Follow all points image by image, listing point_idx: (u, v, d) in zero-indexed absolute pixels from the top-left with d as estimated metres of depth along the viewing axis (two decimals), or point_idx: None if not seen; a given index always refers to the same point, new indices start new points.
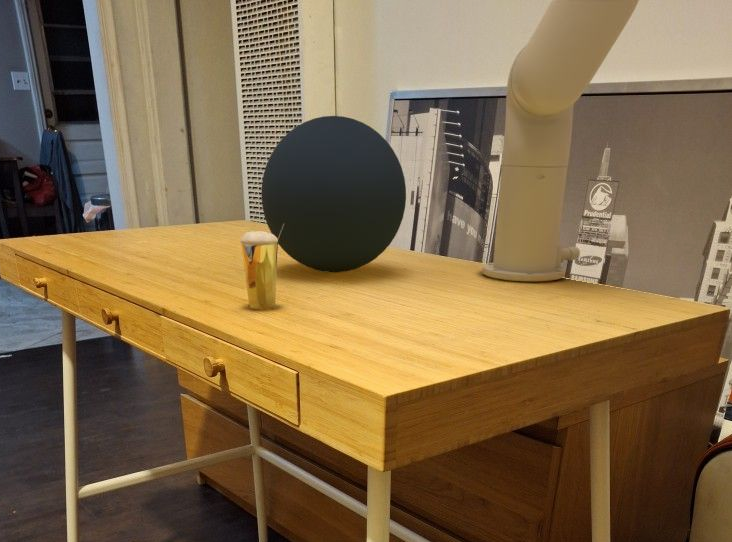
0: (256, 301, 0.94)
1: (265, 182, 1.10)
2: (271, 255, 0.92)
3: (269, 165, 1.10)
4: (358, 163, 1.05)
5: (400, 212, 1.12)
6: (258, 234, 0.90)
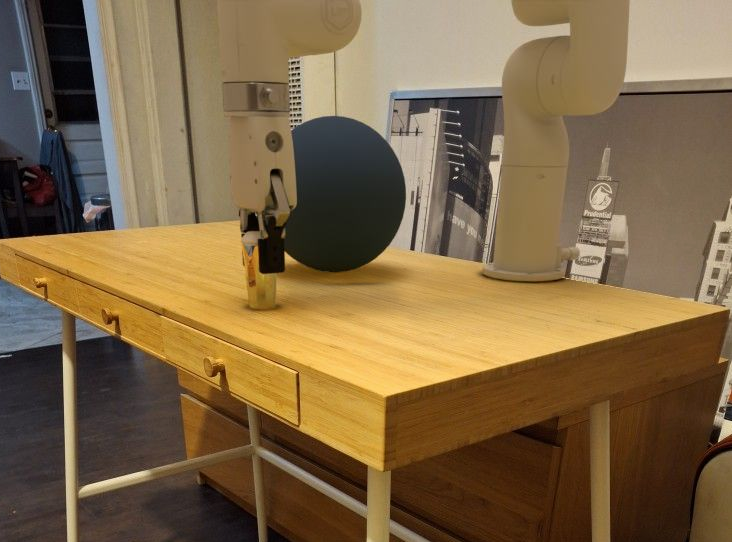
0: (256, 301, 0.94)
1: None
2: None
3: None
4: (358, 163, 1.05)
5: (400, 212, 1.12)
6: (259, 234, 0.90)
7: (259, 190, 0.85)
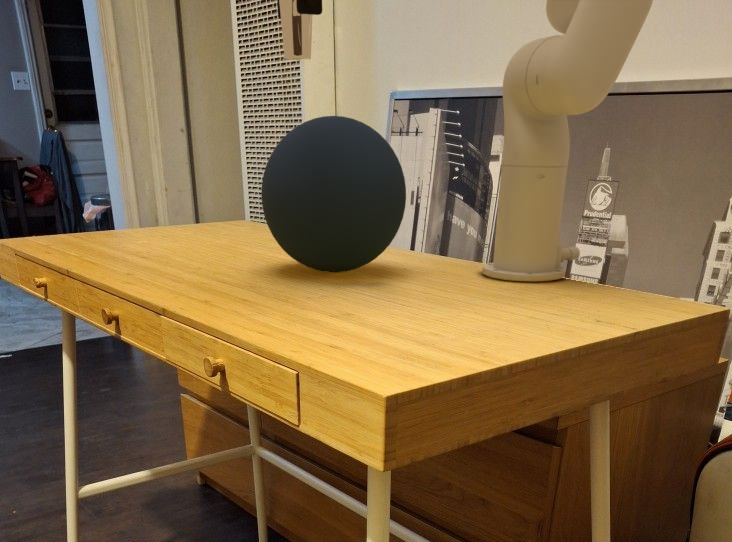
0: (292, 49, 0.93)
1: (265, 182, 1.10)
2: None
3: (269, 165, 1.10)
4: (358, 163, 1.05)
5: (400, 212, 1.12)
6: None
7: None
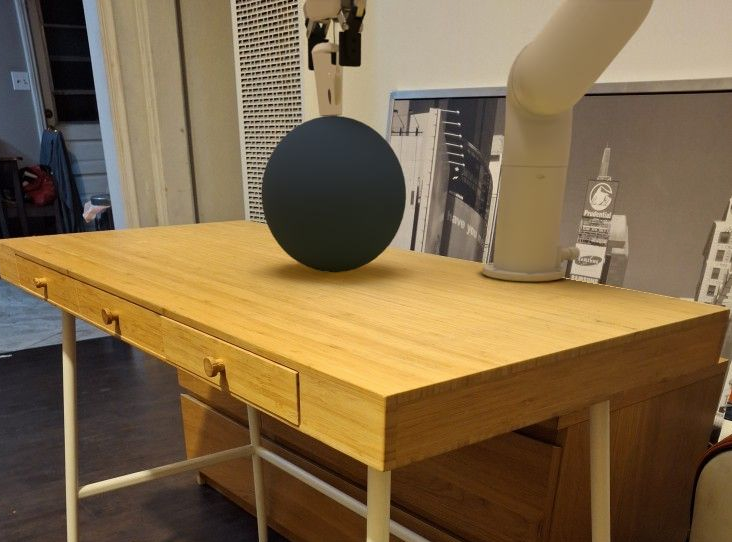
0: (326, 108, 1.08)
1: (265, 182, 1.10)
2: None
3: (269, 165, 1.10)
4: (358, 163, 1.05)
5: (400, 212, 1.12)
6: (327, 43, 1.04)
7: None
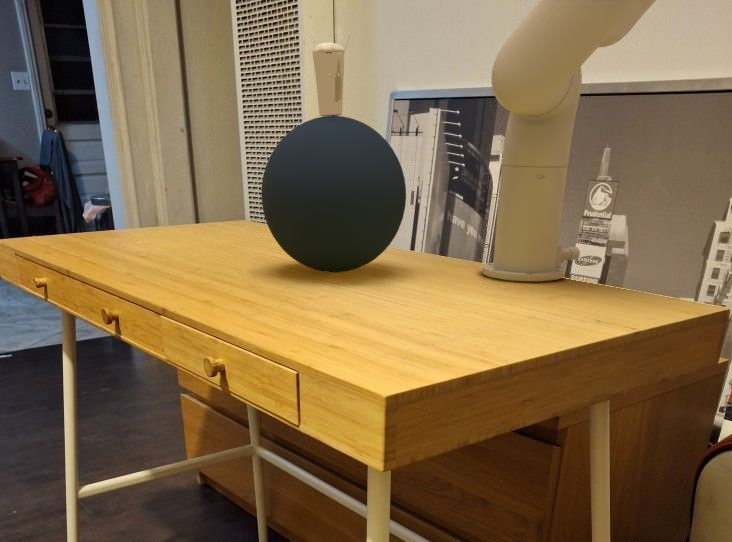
0: (326, 108, 1.08)
1: (265, 182, 1.10)
2: (340, 63, 1.06)
3: (269, 165, 1.10)
4: (358, 163, 1.05)
5: (400, 212, 1.12)
6: (329, 43, 1.04)
7: None
